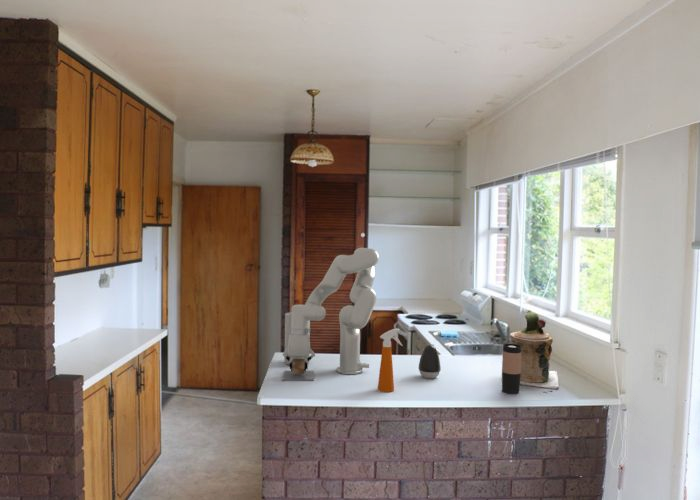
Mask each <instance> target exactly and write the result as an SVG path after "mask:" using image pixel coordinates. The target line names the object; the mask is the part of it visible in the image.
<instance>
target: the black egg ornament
mask: <svg viewBox="0 0 700 500" xmlns="http://www.w3.org/2000/svg"><path fill="white" fill-rule="evenodd" d="M418 371H419V374H420V375H421V377H423V378H425V379H436V378H437V377H438V376H439V374H440V372H441V360H440V356H439V351H438V350H437V347H436V346H435V344H428V345H426V346H425V347H424V348H423V349H422V352H421V354H420V358H419V362H418Z"/></svg>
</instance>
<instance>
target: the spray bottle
mask: <svg viewBox="0 0 700 500" xmlns="http://www.w3.org/2000/svg"><path fill="white" fill-rule="evenodd" d="M399 332H401V330H400V328H392V329H391V330H390V329H389V330H388V331H386V332H384V333H382V334H381V335H380V336H379V338H380V339H382V340H383V341H382V349H381V356H380V367H379V376H378V382H377V390H378V392H381V393H393V392H394V390H395V382H394V381H395V380H394V370H393V369H394V368H393V353H392V341H391V339H393V340H394V341H396V343H397V344H398V345H400V346H402V347H403V344H402V342H401V341H400V339H399V336H398V335H399V334H398V333H399Z"/></svg>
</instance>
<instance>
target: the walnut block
mask: <svg viewBox="0 0 700 500" xmlns="http://www.w3.org/2000/svg"><path fill="white" fill-rule="evenodd" d="M304 367H305V359H293V361H292V374H304V372H305V371H304Z"/></svg>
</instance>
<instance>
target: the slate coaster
mask: <svg viewBox="0 0 700 500" xmlns="http://www.w3.org/2000/svg"><path fill="white" fill-rule="evenodd" d="M314 377H315V371H314V370H306V371H305V372H304V374H292V371H291V370H284V371H283V375H282V379H281V381H285V382H286V381H289V382H295V381H296V382H302V381H303V382H312V381H313V382H314V380H315V379H314Z"/></svg>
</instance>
